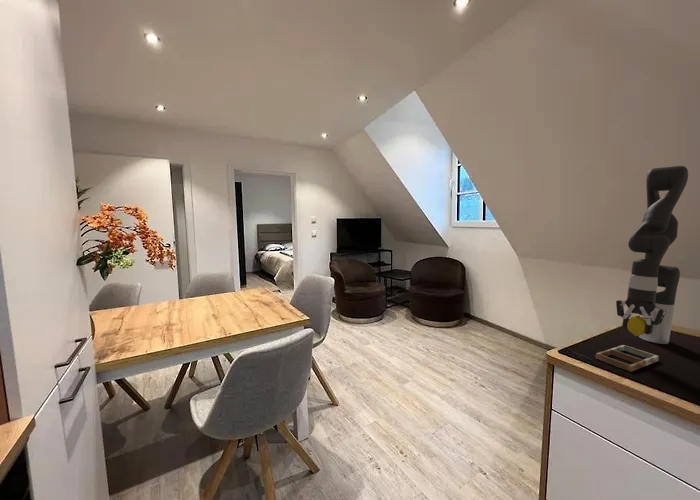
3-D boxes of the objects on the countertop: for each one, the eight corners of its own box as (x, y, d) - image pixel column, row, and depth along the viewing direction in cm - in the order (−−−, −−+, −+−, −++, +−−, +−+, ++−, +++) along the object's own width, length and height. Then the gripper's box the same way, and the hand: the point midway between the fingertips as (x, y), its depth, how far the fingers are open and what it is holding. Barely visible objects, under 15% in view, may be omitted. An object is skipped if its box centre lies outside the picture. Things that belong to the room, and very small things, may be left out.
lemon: (650, 339, 110) (653, 318, 109) (632, 338, 111) (635, 317, 110) (638, 334, 115) (641, 314, 114) (622, 332, 116) (624, 312, 116)
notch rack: (622, 349, 121) (623, 344, 121) (658, 361, 112) (658, 355, 111) (595, 358, 112) (595, 353, 112) (630, 371, 103) (631, 366, 103)
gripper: (673, 291, 106) (667, 336, 108) (623, 282, 119) (618, 323, 121) (664, 292, 103) (657, 339, 105) (613, 284, 116) (608, 326, 118)
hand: (636, 331), depth 113 cm, fingers closed on lemon, 5 cm apart
